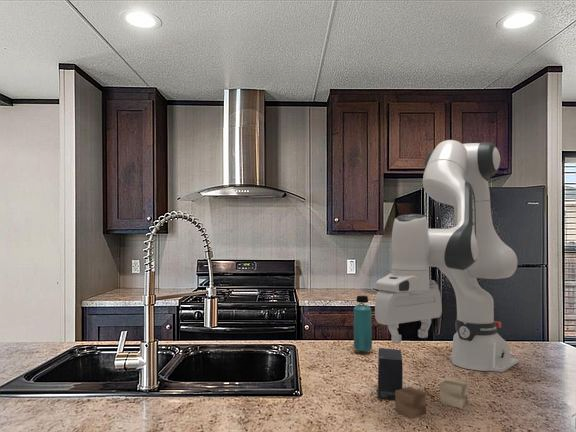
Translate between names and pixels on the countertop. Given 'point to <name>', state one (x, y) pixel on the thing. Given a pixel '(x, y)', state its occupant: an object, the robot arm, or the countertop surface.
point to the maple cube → (454, 393)
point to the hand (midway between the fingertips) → (410, 339)
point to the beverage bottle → (362, 325)
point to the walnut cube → (410, 402)
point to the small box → (389, 372)
